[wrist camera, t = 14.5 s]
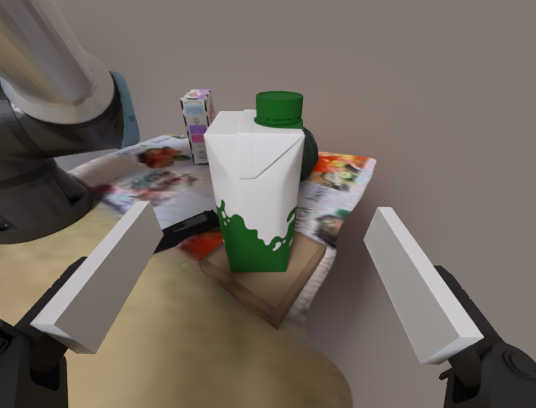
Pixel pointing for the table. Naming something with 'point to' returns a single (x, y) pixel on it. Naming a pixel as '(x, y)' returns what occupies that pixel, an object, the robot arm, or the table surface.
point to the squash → (308, 155)
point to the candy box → (198, 121)
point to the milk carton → (257, 179)
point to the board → (267, 278)
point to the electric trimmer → (187, 229)
